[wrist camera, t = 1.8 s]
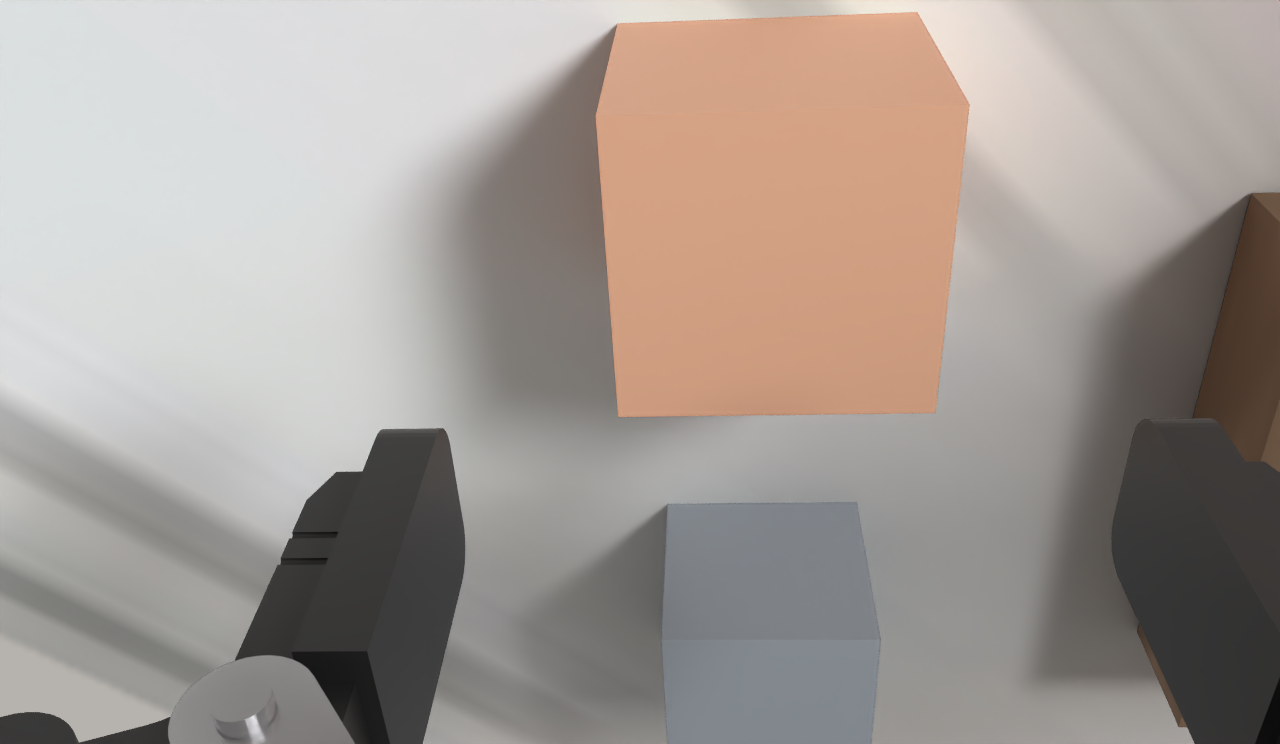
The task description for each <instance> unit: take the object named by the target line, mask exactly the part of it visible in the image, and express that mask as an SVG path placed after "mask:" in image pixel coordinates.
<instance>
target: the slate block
mask: <svg viewBox="0 0 1280 744" xmlns="http://www.w3.org/2000/svg"><path fill="white" fill-rule="evenodd" d="M661 641H662V658H663V676H664V694H665V711H666V729H667V744H871V742H872V731H873V720H874V708H875V697H876V686H877V675H878V664H879V652H880V641H881V639H880V633H879V627H878V622H877V616H876V610H875V604H874V599H873V593H872V587H871V581H870V576H869V570H868V564H867V559H866V553H865V547H864V541H863V536H862V530H861V524H860V518H859V513H858V507H857V502H848V503H727V504H668V509H667V530H666V552H665V573H664V595H663V616H662V638H661Z"/></svg>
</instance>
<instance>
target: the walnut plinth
mask: <svg viewBox="0 0 1280 744" xmlns="http://www.w3.org/2000/svg"><path fill="white" fill-rule="evenodd" d="M1198 418H1212V419H1214V420H1216V421H1217V422H1218V423H1219V424H1220V425H1221V426H1222V428H1223V429H1224V431H1225V432H1226V433H1227V435H1228V436H1229V438H1230V439H1231V441H1232V442H1233V444H1234V445H1235V447H1236V448H1237V450H1238V451H1239V453H1240V454H1241V455H1242V457H1243V458H1244V460H1245V461H1246V462H1262V461H1264V462H1266V463H1267V464H1269V465H1270V466H1271V467H1273V468H1274V469H1276V470H1277V471H1278V472H1280V193H1251V197H1250V201H1249V204H1248V208H1247V212H1246V216H1245V220H1244V224H1243V227H1242V231H1241V235H1240V239H1239V243H1238V247H1237V250H1236V254H1235V258H1234V262H1233V266H1232V270H1231V274H1230V277H1229V281H1228V285H1227V289H1226V293H1225V297H1224V300H1223V304H1222V308H1221V312H1220V316H1219V320H1218V323H1217V327H1216V331H1215V335H1214V339H1213V343H1212V347H1211V350H1210V354H1209V358H1208V362H1207V366H1206V370H1205V373H1204V377H1203V381H1202V385H1201V389H1200V393H1199V396H1198V400H1197V404H1196V408H1195V412H1194V416H1193V419H1198ZM1137 632H1138V635H1139V637H1140V639H1141V642H1142V644H1143V646H1144V648H1145V651H1146V653H1147V655H1148V658H1149V660H1150V662H1151V664H1152V667H1153V669H1154V671H1155V674H1156V676H1157V678H1158V680H1159V683H1160V685H1161V687H1162V690H1163V692H1164V694H1165V696H1166V699H1167V701H1168V703H1169V706H1170V708H1171V710H1172V713H1173V715H1174V717H1175V719H1176V722H1177V724H1178V726H1179V727H1187V725H1186V723H1185V721H1184V719H1183V717H1182V715H1181V712H1180V710H1179V708H1178V706H1177V704H1176V702H1175V699H1174V697H1173V695H1172V693H1171V691H1170V688H1169V686H1168V684H1167V682H1166V680H1165V678H1164V675H1163V673H1162V671H1161V669H1160V667H1159V665H1158V662H1157V660H1156V658H1155V656H1154V654H1153V652H1152V649H1151V647H1150V645H1149V643H1148V641H1147V638H1146V636H1145V634H1144V632H1143V630H1142V628H1141V625H1140V623H1139V627H1138V631H1137Z"/></svg>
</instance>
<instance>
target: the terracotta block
mask: <svg viewBox="0 0 1280 744" xmlns="http://www.w3.org/2000/svg"><path fill="white" fill-rule="evenodd" d="M969 105H970V104H969V103H968V101H967V99H966V97H965V96H964V94H963V92H962V90H961V88H960V87H959V85H958V83H957V81H956V80H955V78H954V76H953V74H952V73H951V71H950V69H949V67H948V65H947V64H946V62H945V60H944V58H943V57H942V55H941V53H940V51H939V50H938V48H937V46H936V44H935V42H934V41H933V39H932V37H931V35H930V34H929V32H928V30H927V28H926V27H925V25H924V23H923V21H922V19H921V18H920V16H919V14H918V12H910V13H884V14H857V15H831V16H805V17H778V18H752V19H725V20H699V21H672V22H646V23H619V24H617V28H616V32H615V36H614V40H613V45H612V49H611V53H610V57H609V61H608V66H607V70H606V74H605V78H604V83H603V87H602V91H601V95H600V99H599V104H598V108H597V112H596V129H597V143H598V156H599V169H600V183H601V196H602V209H603V223H604V236H605V249H606V262H607V276H608V289H609V302H610V316H611V329H612V342H613V356H614V369H615V382H616V395H617V409H618V417H656V416H735V415H813V414H891V413H936V404H937V395H938V386H939V377H940V368H941V359H942V350H943V341H944V332H945V323H946V314H947V304H948V295H949V286H950V277H951V268H952V259H953V250H954V241H955V232H956V223H957V214H958V205H959V195H960V186H961V177H962V168H963V159H964V150H965V141H966V132H967V123H968V114H969Z"/></svg>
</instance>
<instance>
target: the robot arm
mask: <svg viewBox="0 0 1280 744" xmlns="http://www.w3.org/2000/svg"><path fill="white" fill-rule="evenodd" d="M292 533H293V537H292V539H289V541H288V543H287V545H286V548H285V550H284V552H283V554H282V556H281V565H277V568H276V570H275V572H274V574H273V577H272V579H271V581H270V583H269V585H268V588H267V590H266V592H265V594H264V597H263V599H262V601H261V603H260V606H259V608H258V610H257V612H256V614H255V617H254V619H253V621H252V623H251V626H250V628H249V630H248V632H247V635H246V637H245V639H244V641H243V643H242V646H241V648H240V650H239V652H238V655H237V657H236V659H235V661H233V662H231V663H228V664H226V665H223V666H221V667H219V668H217V669H215V670H213V671H212V672H210V673H208V674H207V675H205V676H204V677H202V678H201V679H200V680H198V681H197V682H196V683H195V684H194V685H193V686H191V687H190V688H189V689H188V690H187V692H186V693H185V694H184V695H183V696H182V697H181V699H180V700H179V702H178V703H177V705H176V706H175V708H174V710H173V713H172V715H171V717H169V718H166V719H164V720H162V721H159V722H156V723H153V724H149V725H146V726H142V727H138V728H134V729H131V730H126V731H123V732H119V733H115V734H111V735H107V736H104V737H100V738H96V739H92V740H88V741H85V742H81V743H79V742H78V740H77V738H76V736H75V733H74V732H73V730H72V728H71V727H70V726H69V725H68V724H67V723H66V722H65V721H64V720H62V719H61V718H58V717H56V716H54V715H51V714H45V713H40V712H26V713H18V714H12V715H8V716H4V717H0V744H423V740H424V736H425V732H426V727H427V723H428V719H429V715H430V711H431V707H432V703H433V699H434V695H435V691H436V686H437V682H438V678H439V674H440V670H441V666H442V662H443V658H444V654H445V649H446V645H447V641H448V637H449V633H450V629H451V625H452V621H453V617H454V612H455V608H456V604H457V600H458V596H459V592H460V588H461V584H462V579H463V573H464V565H465V534H464V525H463V519H462V513H461V507H460V501H459V496H458V490H457V484H456V478H455V472H454V466H453V460H452V454H451V448H450V443H449V439H448V435H447V433H446V431H445V430H444V429H443V428H437V429H382V430H381V431H380V432H379V433H378V435H377V437H376V439H375V441H374V444H373V446H372V449H371V452H370V454H369V457H368V459H367V462H366V464H365V467H364V469H363V472H336V473H335V474H334V475H333V476H332V477H331V478H330V479H329V480H328V481H327V482H325V483H324V484H323V485H322V486H321V487H320V488H319V489H318V490H317V491H316V492H315V493H314V494H313V495H312V496H311V497H310V498H309V499H307V501H306V503H305V505H304V507H303V510H302V512H301V514H300V516H299V519H298V521H297V523H296V525H295V527H294V530H293V532H292ZM1112 553H1113V559H1114V564H1115V568H1116V572H1117V575H1118V577H1119V580H1120V582H1121V584H1122V586H1123V588H1124V591H1125V593H1126V595H1127V597H1128V599H1129V602H1130V604H1131V606H1132V608H1133V610H1134V612H1135V615H1136V617H1137V619H1138V621H1139V623H1140V625H1141V628H1142V630H1143V632H1144V634H1145V636H1146V638H1147V641H1148V643H1149V645H1150V647H1151V649H1152V652H1153V654H1154V656H1155V658H1156V660H1157V662H1158V665H1159V667H1160V669H1161V671H1162V673H1163V675H1164V678H1165V680H1166V682H1167V684H1168V686H1169V688H1170V691H1171V693H1172V695H1173V697H1174V699H1175V702H1176V704H1177V706H1178V708H1179V710H1180V712H1181V715H1182V717H1183V719H1184V721H1185V723H1186V725H1187V728H1188V730H1189V732H1190V734H1191V736H1192V739H1193V741H1194V743H1195V744H1280V472H1278V471H1277V470H1276V469H1274V468H1273V467H1271V466H1270V465H1269V464H1267V463H1266V462H1264V461H1262V462H1246V461H1245V460H1244V458H1243V457H1242V455H1241V454H1240V453H1239V451H1238V450H1237V448H1236V447H1235V445H1234V444H1233V442H1232V441H1231V439H1230V438H1229V436H1228V435H1227V433H1226V432H1225V431H1224V429H1223V428H1222V426H1221V425H1220V424H1219V423H1218V422H1217V421H1216V420H1214V419H1212V418H1198V419H1144V420H1142V421H1141V422H1140V423H1139V424H1138V426H1137V427H1136V429H1135V432H1134V435H1133V439H1132V443H1131V447H1130V452H1129V456H1128V460H1127V464H1126V469H1125V473H1124V477H1123V481H1122V486H1121V490H1120V494H1119V499H1118V503H1117V507H1116V511H1115V516H1114V520H1113V526H1112Z"/></svg>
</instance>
